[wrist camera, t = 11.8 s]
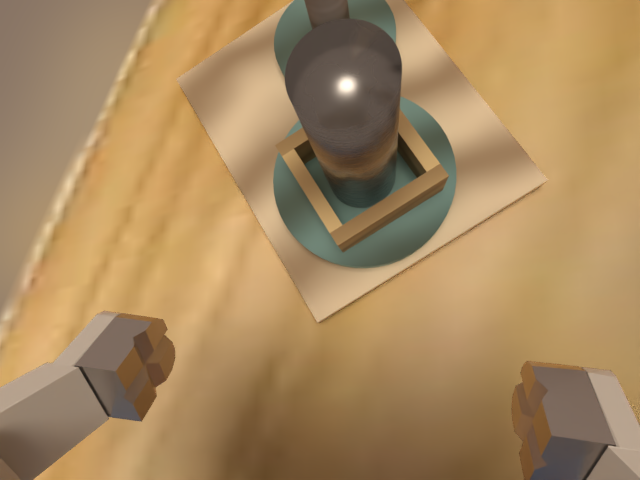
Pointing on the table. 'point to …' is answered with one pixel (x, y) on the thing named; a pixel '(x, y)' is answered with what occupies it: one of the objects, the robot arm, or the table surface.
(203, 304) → the table surface
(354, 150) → the axle
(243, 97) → the gear board
